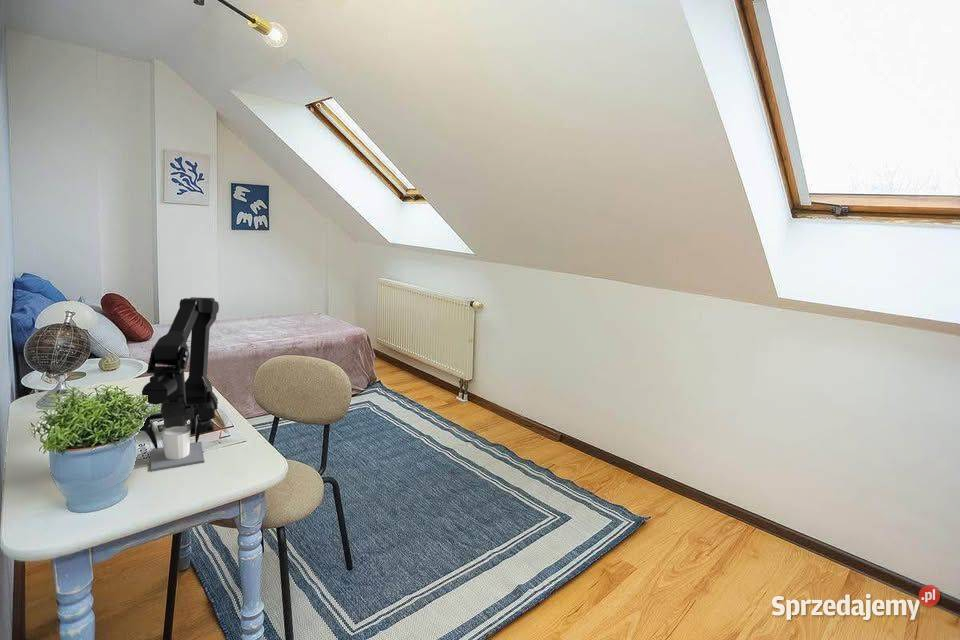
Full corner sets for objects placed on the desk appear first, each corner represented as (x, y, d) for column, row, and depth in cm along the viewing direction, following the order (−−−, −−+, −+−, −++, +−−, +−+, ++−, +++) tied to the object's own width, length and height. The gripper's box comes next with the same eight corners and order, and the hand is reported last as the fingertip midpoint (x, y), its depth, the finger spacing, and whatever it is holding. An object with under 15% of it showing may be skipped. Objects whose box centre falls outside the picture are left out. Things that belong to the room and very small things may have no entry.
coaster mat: (151, 451, 146) (151, 448, 146) (201, 443, 152) (201, 441, 152) (150, 471, 136) (150, 469, 136) (204, 462, 142) (204, 460, 142)
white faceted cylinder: (179, 462, 140) (177, 437, 139) (156, 458, 142) (154, 433, 140) (198, 450, 147) (196, 426, 145) (175, 446, 148) (174, 423, 147)
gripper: (128, 405, 129) (133, 465, 132) (215, 395, 138) (218, 451, 141) (130, 390, 138) (135, 446, 142) (211, 381, 147) (214, 434, 151)
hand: (176, 445), depth 144 cm, fingers open, 9 cm apart
